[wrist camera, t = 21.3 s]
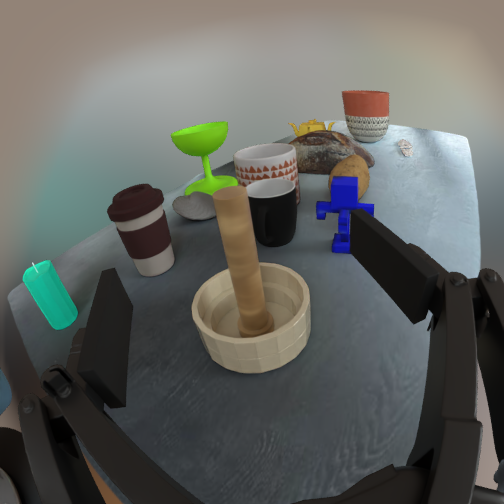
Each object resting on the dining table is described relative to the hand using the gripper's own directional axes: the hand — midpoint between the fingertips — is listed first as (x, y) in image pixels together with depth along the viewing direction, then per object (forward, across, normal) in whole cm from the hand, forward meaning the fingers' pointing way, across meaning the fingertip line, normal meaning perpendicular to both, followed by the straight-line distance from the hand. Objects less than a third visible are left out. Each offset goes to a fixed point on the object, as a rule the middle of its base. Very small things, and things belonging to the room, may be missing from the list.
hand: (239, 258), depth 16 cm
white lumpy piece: (+76, +78, -20) cm, 111 cm away
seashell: (+52, -3, -20) cm, 56 cm away
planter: (+91, +70, -20) cm, 117 cm away
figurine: (+25, +20, -20) cm, 38 cm away
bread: (+73, +40, -20) cm, 86 cm away
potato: (+42, +31, -20) cm, 56 cm away
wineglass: (+70, +2, -20) cm, 72 cm away
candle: (+25, -30, -20) cm, 44 cm away
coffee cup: (+34, -12, -20) cm, 41 cm away
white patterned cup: (+49, +14, -20) cm, 55 cm away
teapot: (+101, +48, -20) cm, 114 cm away
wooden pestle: (+12, +2, -19) cm, 23 cm away
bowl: (+12, +1, -20) cm, 23 cm away
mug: (+32, +10, -20) cm, 39 cm away
